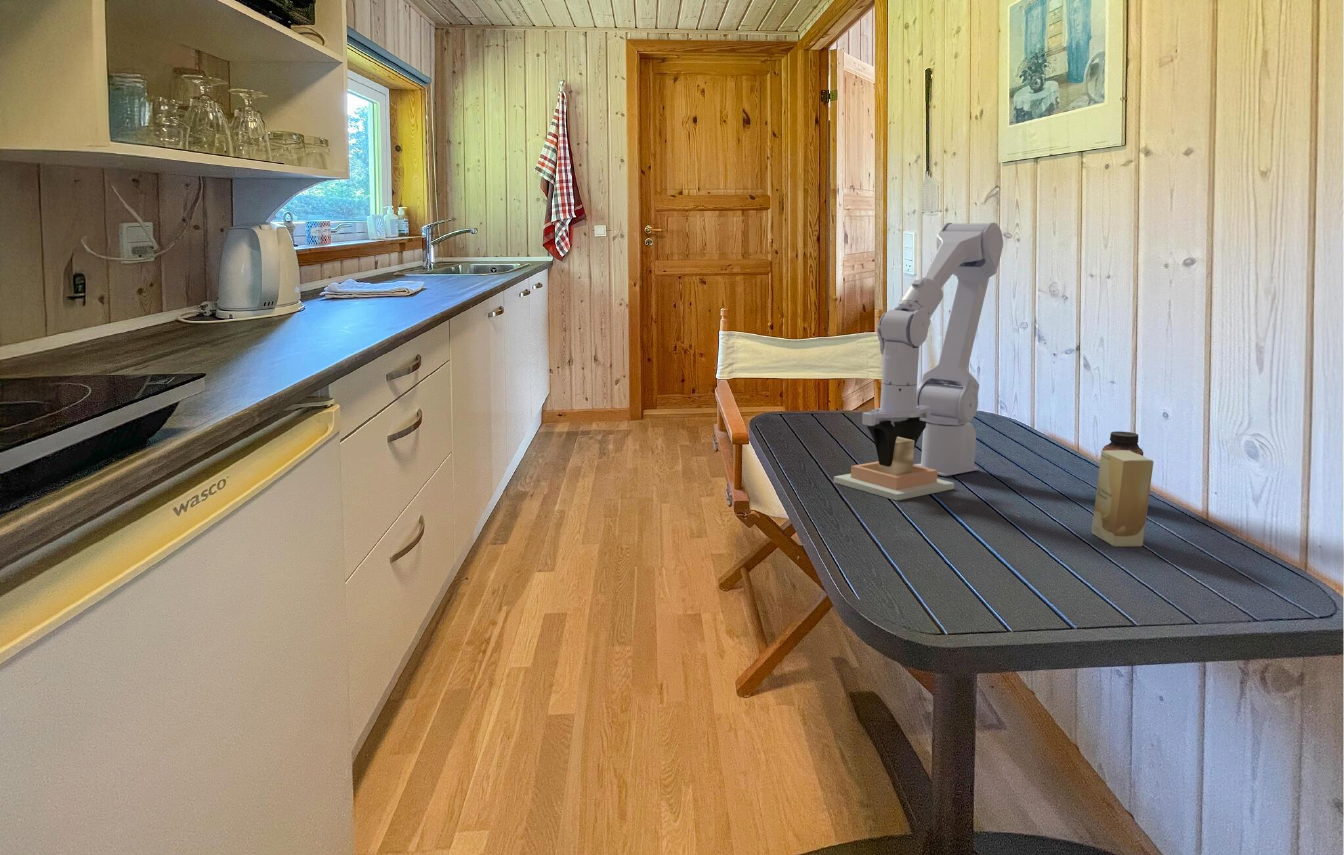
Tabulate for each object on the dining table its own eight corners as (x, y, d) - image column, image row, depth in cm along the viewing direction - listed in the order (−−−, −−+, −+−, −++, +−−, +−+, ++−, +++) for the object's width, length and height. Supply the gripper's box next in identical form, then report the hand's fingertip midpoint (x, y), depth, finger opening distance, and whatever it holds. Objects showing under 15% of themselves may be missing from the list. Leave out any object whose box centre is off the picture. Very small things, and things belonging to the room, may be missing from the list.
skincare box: (1090, 533, 136) (1098, 449, 134) (1119, 533, 137) (1128, 449, 135) (1114, 547, 130) (1123, 459, 128) (1145, 547, 131) (1155, 459, 128)
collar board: (890, 472, 172) (891, 455, 171) (953, 488, 161) (955, 471, 160) (833, 482, 164) (834, 465, 163) (896, 500, 153) (897, 482, 152)
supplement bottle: (1142, 509, 150) (1150, 438, 148) (1101, 506, 151) (1108, 435, 149) (1132, 499, 155) (1139, 430, 153) (1093, 497, 157) (1100, 428, 154)
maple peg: (893, 470, 164) (896, 436, 163) (912, 475, 161) (914, 440, 160) (877, 473, 162) (879, 438, 161) (895, 478, 159) (898, 442, 158)
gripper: (887, 389, 152) (882, 473, 154) (947, 383, 160) (941, 463, 162) (854, 384, 157) (850, 465, 160) (914, 378, 165) (909, 455, 168)
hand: (894, 463), depth 161 cm, fingers closed on maple peg, 4 cm apart
